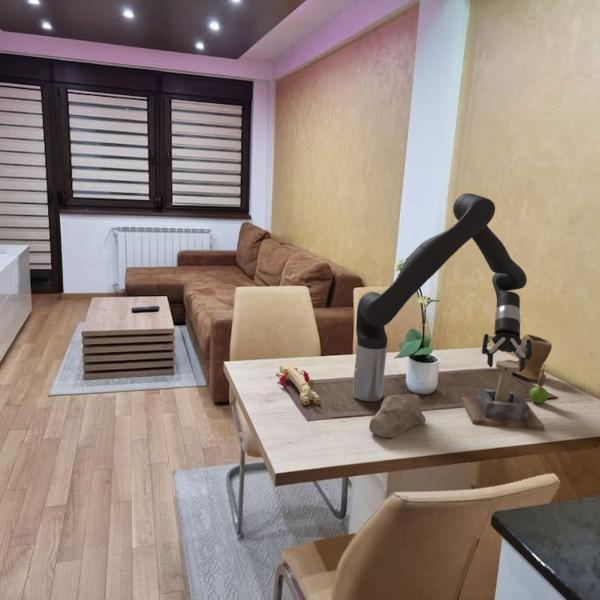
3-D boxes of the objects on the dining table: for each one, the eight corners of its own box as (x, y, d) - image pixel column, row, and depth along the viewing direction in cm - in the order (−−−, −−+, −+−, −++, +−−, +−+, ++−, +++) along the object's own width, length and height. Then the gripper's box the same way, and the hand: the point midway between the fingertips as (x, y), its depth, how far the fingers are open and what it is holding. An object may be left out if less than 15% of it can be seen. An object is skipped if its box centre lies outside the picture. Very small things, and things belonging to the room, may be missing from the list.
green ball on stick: (546, 400, 170) (552, 365, 168) (546, 407, 165) (552, 372, 162) (528, 396, 173) (534, 362, 170) (527, 404, 167) (533, 368, 164)
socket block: (472, 423, 151) (475, 405, 150) (461, 400, 167) (463, 383, 165) (543, 430, 150) (546, 411, 148) (525, 406, 165) (528, 389, 164)
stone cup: (553, 379, 189) (560, 340, 185) (531, 384, 183) (538, 343, 180) (519, 365, 202) (525, 328, 198) (497, 369, 196) (503, 331, 193)
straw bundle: (326, 407, 160) (297, 371, 182) (329, 381, 157) (299, 348, 179) (295, 411, 156) (270, 373, 178) (298, 384, 153) (272, 350, 175)
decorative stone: (408, 413, 156) (411, 382, 153) (429, 423, 150) (433, 391, 148) (364, 434, 142) (367, 400, 140) (386, 445, 137) (390, 410, 134)
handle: (510, 416, 155) (518, 369, 151) (487, 410, 157) (494, 364, 154) (512, 410, 159) (520, 364, 155) (490, 404, 162) (497, 359, 158)
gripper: (485, 313, 165) (482, 359, 157) (534, 319, 161) (533, 366, 153) (482, 325, 171) (479, 370, 163) (528, 331, 168) (528, 377, 160)
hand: (505, 368), depth 158 cm, fingers open, 8 cm apart
